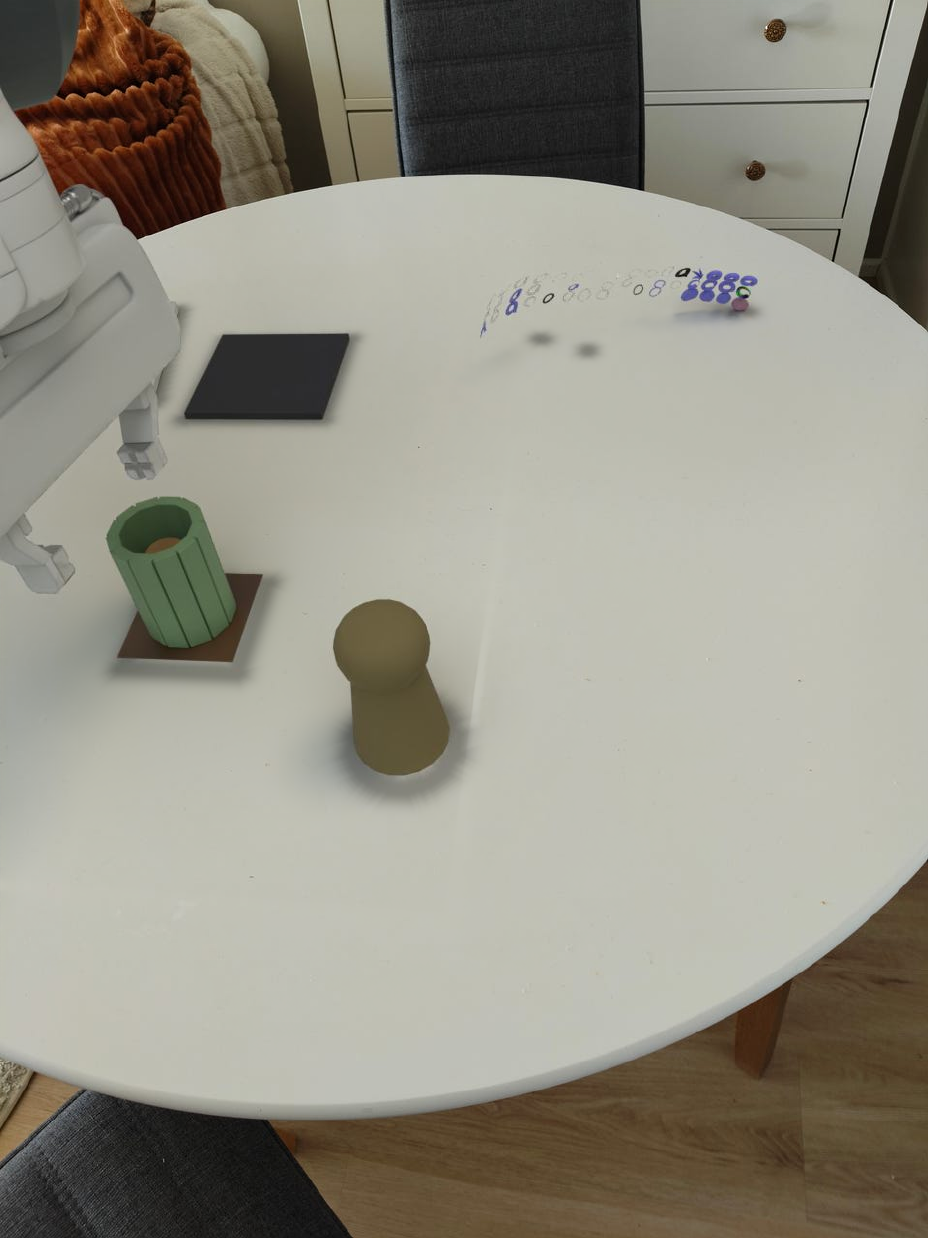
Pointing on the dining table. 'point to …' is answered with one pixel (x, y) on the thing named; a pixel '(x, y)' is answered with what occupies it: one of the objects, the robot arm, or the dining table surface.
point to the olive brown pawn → (391, 687)
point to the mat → (269, 376)
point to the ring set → (687, 295)
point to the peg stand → (214, 651)
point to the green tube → (172, 571)
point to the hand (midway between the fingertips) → (105, 524)
